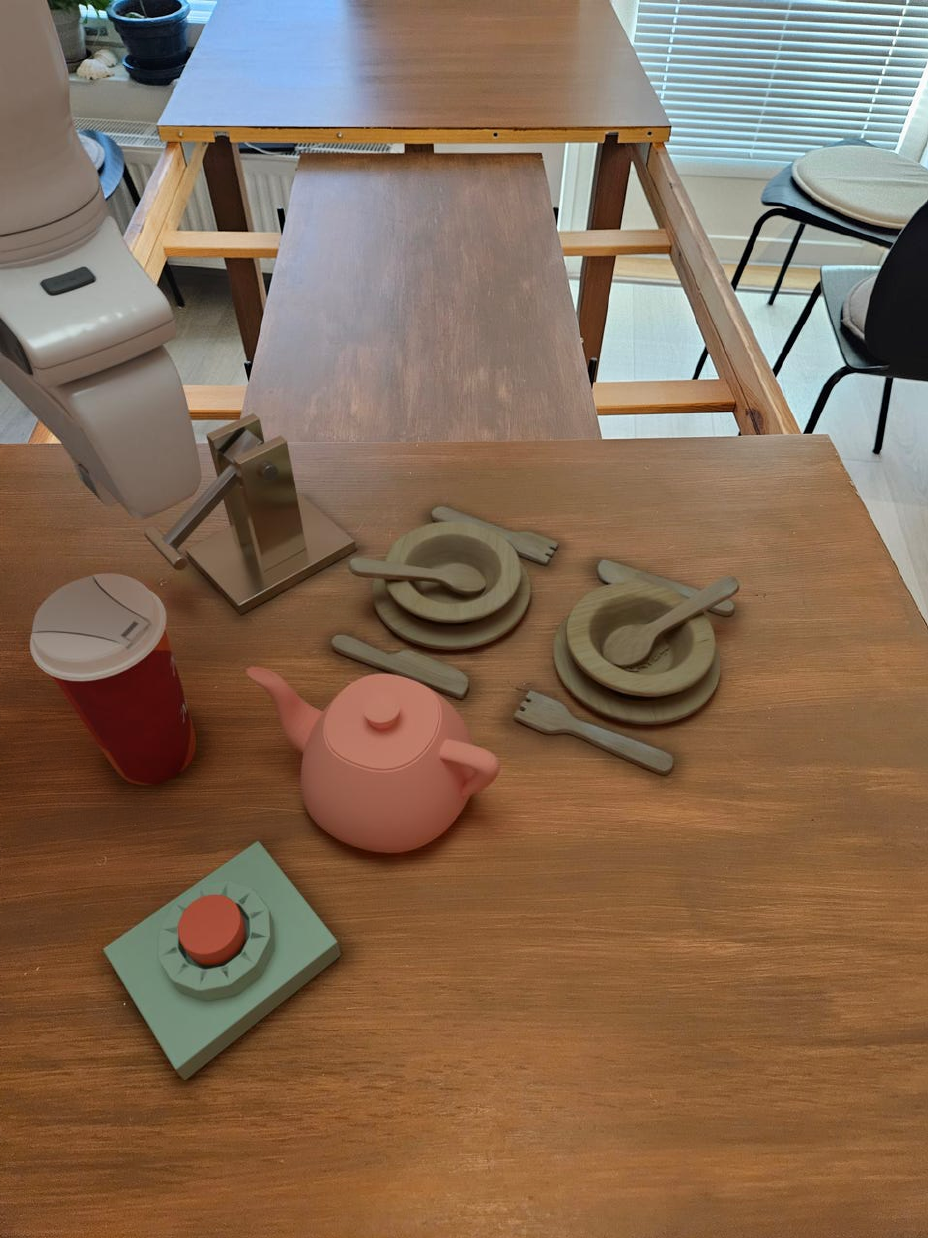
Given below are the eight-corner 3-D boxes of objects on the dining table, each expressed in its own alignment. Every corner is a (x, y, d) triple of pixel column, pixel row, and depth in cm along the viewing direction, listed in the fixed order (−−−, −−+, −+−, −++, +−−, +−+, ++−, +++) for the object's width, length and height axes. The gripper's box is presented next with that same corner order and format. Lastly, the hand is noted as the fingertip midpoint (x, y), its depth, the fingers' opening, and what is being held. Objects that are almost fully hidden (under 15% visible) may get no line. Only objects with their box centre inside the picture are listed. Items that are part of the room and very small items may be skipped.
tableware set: (324, 649, 72) (315, 598, 68) (434, 505, 84) (432, 455, 80) (680, 786, 64) (696, 739, 59) (746, 605, 75) (764, 554, 71)
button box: (184, 1081, 51) (167, 1060, 48) (112, 962, 55) (92, 936, 52) (341, 955, 56) (334, 929, 53) (263, 855, 60) (253, 826, 57)
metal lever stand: (241, 615, 75) (208, 497, 65) (188, 559, 79) (150, 441, 70) (356, 550, 80) (341, 432, 71) (300, 501, 85) (279, 384, 75)
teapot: (464, 899, 58) (464, 827, 51) (227, 808, 63) (196, 730, 56) (526, 753, 66) (532, 673, 58) (310, 682, 70) (292, 599, 63)
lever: (185, 576, 71) (166, 563, 69) (155, 543, 73) (135, 530, 71) (287, 465, 71) (271, 449, 69) (253, 436, 74) (237, 420, 72)
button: (204, 979, 51) (197, 967, 50) (173, 933, 53) (166, 920, 52) (257, 938, 53) (252, 926, 51) (226, 895, 55) (220, 882, 53)
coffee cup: (234, 728, 67) (187, 590, 56) (166, 816, 62) (100, 684, 51) (144, 691, 70) (83, 551, 58) (72, 773, 65) (-11, 638, 53)
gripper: (-125, 205, 45) (-17, 431, 55) (50, 373, 35) (143, 612, 45) (-3, 172, 48) (78, 393, 58) (192, 319, 38) (249, 555, 48)
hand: (108, 490), depth 52 cm, fingers closed
